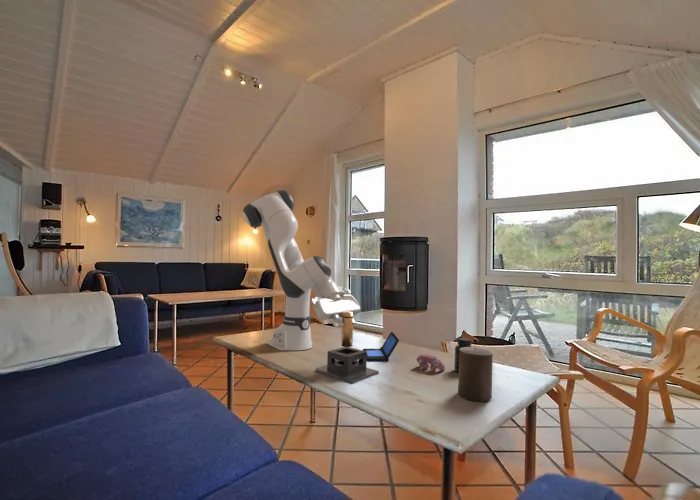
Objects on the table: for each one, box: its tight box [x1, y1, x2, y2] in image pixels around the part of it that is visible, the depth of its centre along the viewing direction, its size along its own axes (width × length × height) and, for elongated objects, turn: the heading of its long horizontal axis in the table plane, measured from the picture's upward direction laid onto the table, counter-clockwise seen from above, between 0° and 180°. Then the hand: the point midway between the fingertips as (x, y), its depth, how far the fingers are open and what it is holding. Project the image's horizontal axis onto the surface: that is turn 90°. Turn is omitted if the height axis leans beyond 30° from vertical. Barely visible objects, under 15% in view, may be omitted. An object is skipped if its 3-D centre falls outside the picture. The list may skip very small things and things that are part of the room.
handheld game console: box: [362, 331, 400, 362], centre depth 146 cm, size 16×13×9 cm
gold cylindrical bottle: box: [340, 311, 354, 348], centre depth 124 cm, size 4×4×12 cm
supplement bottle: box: [453, 337, 472, 374], centre depth 128 cm, size 7×7×12 cm
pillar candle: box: [457, 346, 494, 403], centre depth 105 cm, size 10×10×15 cm
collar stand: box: [315, 346, 379, 385], centre depth 124 cm, size 18×14×8 cm
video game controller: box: [416, 353, 446, 372], centre depth 130 cm, size 10×5×7 cm, turn 49°
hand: (348, 325), depth 124 cm, fingers closed on gold cylindrical bottle, 4 cm apart
